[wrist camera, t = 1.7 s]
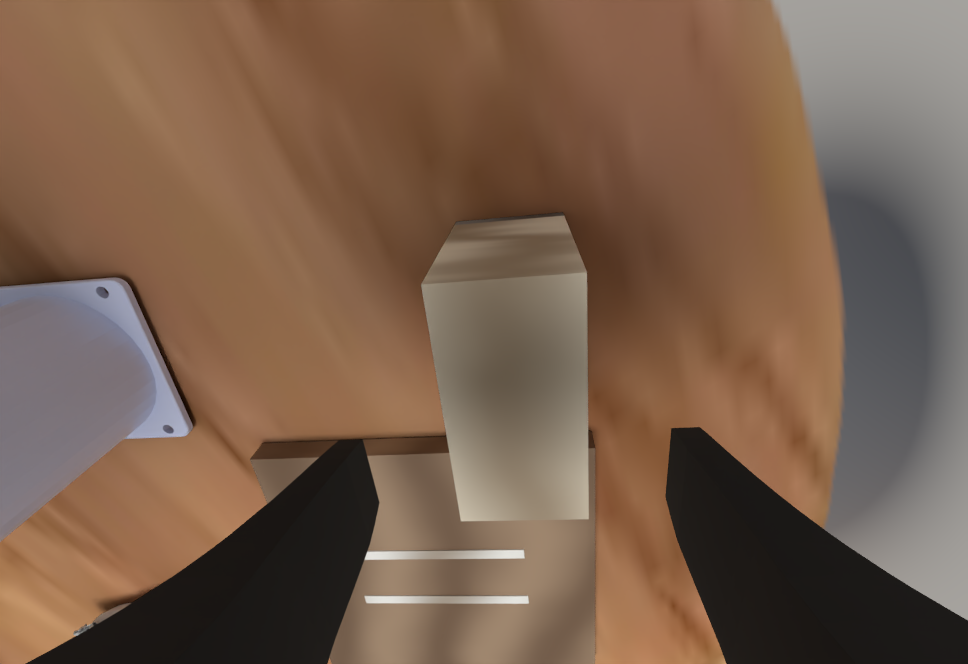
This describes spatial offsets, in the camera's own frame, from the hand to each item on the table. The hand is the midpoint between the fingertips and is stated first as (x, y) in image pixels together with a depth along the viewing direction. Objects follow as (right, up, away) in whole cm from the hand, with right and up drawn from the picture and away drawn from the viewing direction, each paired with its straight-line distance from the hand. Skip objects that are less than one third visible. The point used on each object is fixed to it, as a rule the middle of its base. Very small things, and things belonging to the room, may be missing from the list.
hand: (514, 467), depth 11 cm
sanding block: (+1, +4, +8) cm, 9 cm away
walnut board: (-3, -9, +15) cm, 18 cm away
